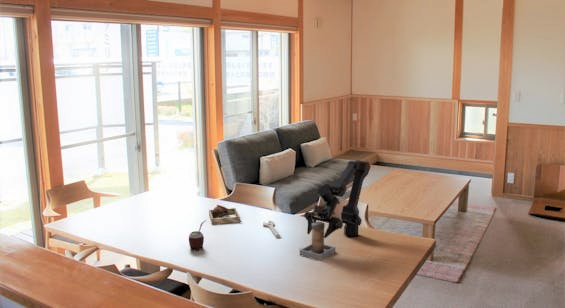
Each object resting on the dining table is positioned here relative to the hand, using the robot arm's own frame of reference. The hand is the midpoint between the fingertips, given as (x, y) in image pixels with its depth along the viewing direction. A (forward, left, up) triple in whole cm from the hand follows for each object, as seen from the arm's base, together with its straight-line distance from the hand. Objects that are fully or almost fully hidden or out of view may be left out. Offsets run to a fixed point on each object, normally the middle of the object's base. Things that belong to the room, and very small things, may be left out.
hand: (316, 235), depth 244 cm
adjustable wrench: (+13, -39, -10) cm, 42 cm away
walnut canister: (-1, -1, -8) cm, 8 cm away
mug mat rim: (+35, -66, -9) cm, 75 cm away
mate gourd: (+53, -21, -9) cm, 58 cm away
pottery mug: (+37, -68, -9) cm, 78 cm away
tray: (-1, -1, -9) cm, 9 cm away
